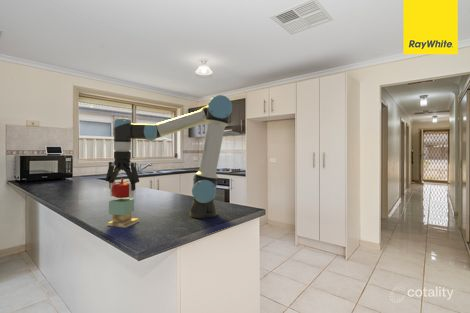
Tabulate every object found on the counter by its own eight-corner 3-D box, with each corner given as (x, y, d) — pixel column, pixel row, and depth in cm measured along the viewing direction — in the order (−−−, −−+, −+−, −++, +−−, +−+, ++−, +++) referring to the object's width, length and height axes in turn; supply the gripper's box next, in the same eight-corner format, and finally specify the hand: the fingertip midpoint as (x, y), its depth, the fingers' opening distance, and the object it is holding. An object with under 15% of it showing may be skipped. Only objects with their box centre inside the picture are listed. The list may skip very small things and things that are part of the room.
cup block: (134, 211, 123) (134, 198, 123) (123, 215, 115) (123, 202, 115) (120, 210, 125) (120, 198, 125) (108, 214, 117) (108, 201, 117)
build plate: (138, 221, 124) (139, 210, 124) (125, 227, 114) (125, 215, 114) (121, 219, 127) (121, 209, 126) (107, 225, 117) (107, 214, 117)
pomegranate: (113, 200, 113) (112, 180, 112) (109, 196, 121) (109, 177, 121) (135, 197, 119) (135, 178, 118) (130, 194, 127) (130, 176, 126)
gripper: (147, 151, 120) (147, 196, 121) (108, 150, 125) (108, 193, 126) (137, 151, 113) (137, 199, 113) (97, 150, 118) (96, 196, 119)
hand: (122, 196), depth 120 cm, fingers closed on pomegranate, 10 cm apart
